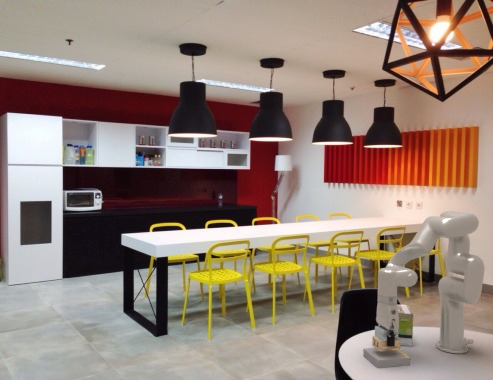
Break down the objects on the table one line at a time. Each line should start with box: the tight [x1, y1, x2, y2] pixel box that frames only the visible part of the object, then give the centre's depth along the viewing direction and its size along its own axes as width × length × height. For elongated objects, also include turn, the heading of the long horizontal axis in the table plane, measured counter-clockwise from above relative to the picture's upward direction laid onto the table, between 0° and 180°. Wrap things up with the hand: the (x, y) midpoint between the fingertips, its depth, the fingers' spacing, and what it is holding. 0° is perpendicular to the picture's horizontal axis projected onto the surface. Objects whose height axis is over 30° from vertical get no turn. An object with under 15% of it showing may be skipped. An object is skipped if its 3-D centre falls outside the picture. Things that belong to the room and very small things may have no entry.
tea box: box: [397, 303, 414, 347], centre depth 203 cm, size 15×10×15 cm, turn 168°
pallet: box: [371, 325, 401, 351], centre depth 179 cm, size 9×6×8 cm, turn 102°
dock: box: [362, 347, 411, 369], centre depth 180 cm, size 14×12×3 cm
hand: (386, 342), depth 179 cm, fingers closed on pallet, 6 cm apart
